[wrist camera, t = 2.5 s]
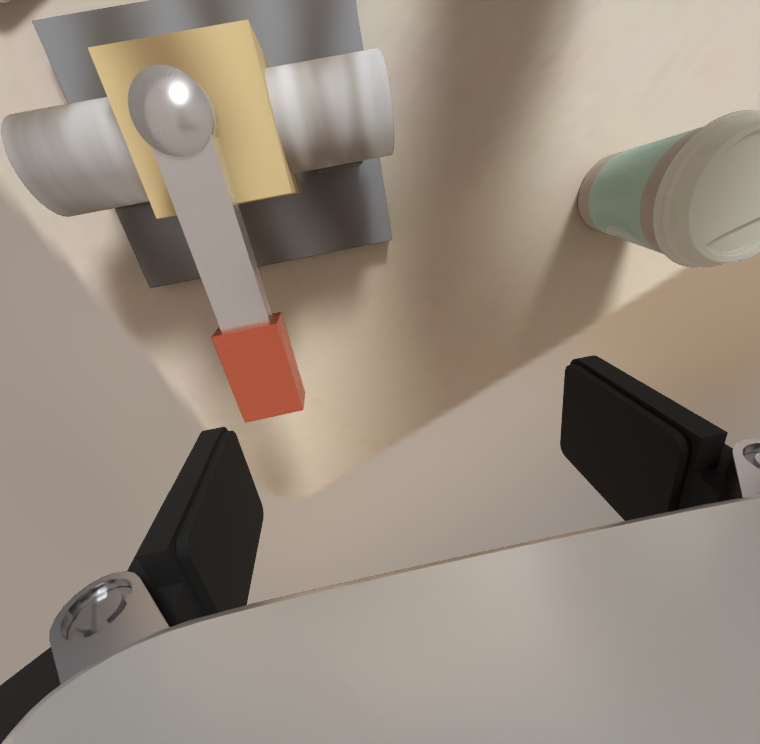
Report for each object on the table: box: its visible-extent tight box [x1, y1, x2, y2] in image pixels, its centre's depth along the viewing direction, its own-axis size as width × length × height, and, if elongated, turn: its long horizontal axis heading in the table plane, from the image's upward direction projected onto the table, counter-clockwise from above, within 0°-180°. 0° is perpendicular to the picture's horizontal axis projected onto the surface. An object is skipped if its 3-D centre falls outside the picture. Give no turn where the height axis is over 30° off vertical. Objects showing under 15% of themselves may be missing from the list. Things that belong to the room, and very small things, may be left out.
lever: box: [128, 65, 305, 422], centre depth 18 cm, size 16×3×2 cm, turn 11°
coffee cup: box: [578, 110, 760, 267], centre depth 27 cm, size 9×8×12 cm
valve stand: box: [1, 0, 394, 288], centre depth 22 cm, size 19×16×12 cm
